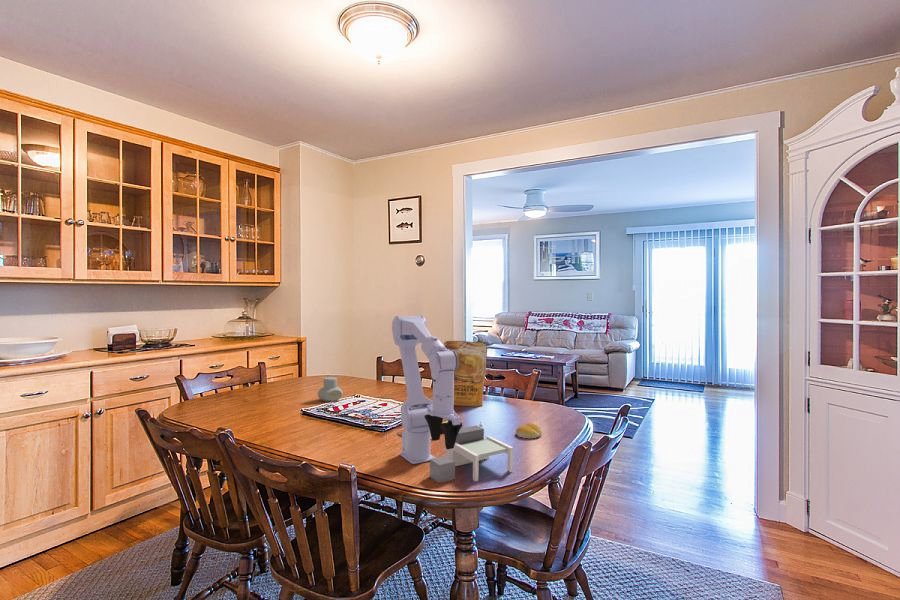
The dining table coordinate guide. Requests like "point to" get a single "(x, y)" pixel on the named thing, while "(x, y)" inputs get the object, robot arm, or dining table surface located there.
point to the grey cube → (442, 469)
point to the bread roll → (529, 431)
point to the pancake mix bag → (469, 372)
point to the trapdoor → (478, 442)
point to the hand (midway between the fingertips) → (442, 444)
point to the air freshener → (330, 390)
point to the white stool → (476, 456)
